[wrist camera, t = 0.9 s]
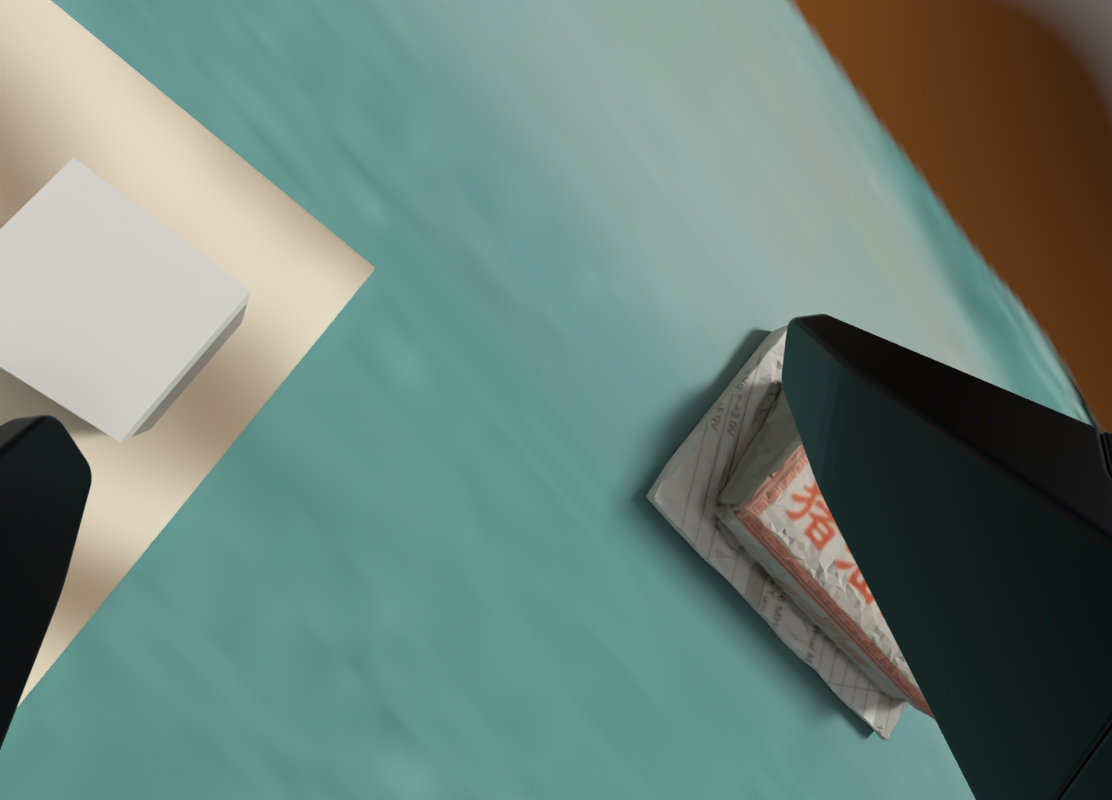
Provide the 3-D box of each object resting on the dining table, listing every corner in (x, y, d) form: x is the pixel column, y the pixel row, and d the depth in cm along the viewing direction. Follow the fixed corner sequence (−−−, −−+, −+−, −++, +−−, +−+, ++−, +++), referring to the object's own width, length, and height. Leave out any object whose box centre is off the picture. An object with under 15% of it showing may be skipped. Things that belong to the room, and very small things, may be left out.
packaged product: (1056, 590, 33) (959, 780, 30) (958, 568, 38) (865, 731, 35) (850, 312, 28) (706, 512, 25) (763, 324, 32) (633, 495, 29)
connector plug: (150, 429, 21) (119, 441, 14) (15, 342, 19) (-86, 313, 13) (241, 323, 22) (250, 290, 15) (119, 233, 20) (73, 157, 14)
